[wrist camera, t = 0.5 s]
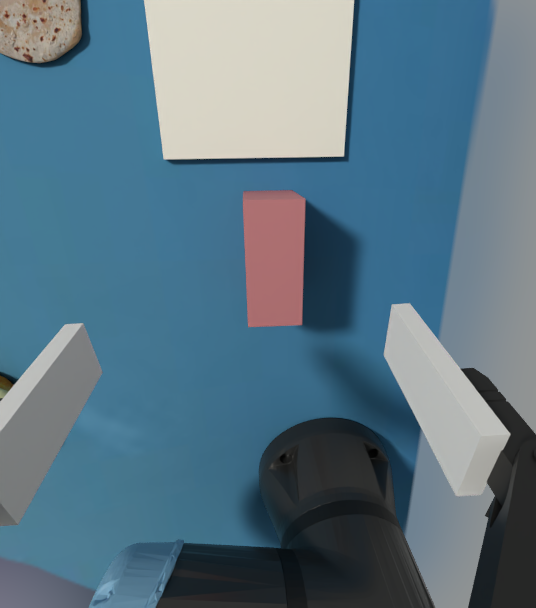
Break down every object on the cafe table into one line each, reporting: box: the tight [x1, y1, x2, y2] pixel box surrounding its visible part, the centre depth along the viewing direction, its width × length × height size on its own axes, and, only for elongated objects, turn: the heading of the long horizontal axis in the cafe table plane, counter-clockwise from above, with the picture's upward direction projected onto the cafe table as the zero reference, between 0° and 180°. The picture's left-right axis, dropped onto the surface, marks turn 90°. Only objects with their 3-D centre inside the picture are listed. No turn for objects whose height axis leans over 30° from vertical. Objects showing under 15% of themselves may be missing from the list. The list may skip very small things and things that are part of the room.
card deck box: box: [243, 190, 305, 327], centre depth 27 cm, size 9×4×7 cm, turn 1°
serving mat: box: [144, 0, 354, 159], centre depth 24 cm, size 14×14×1 cm
